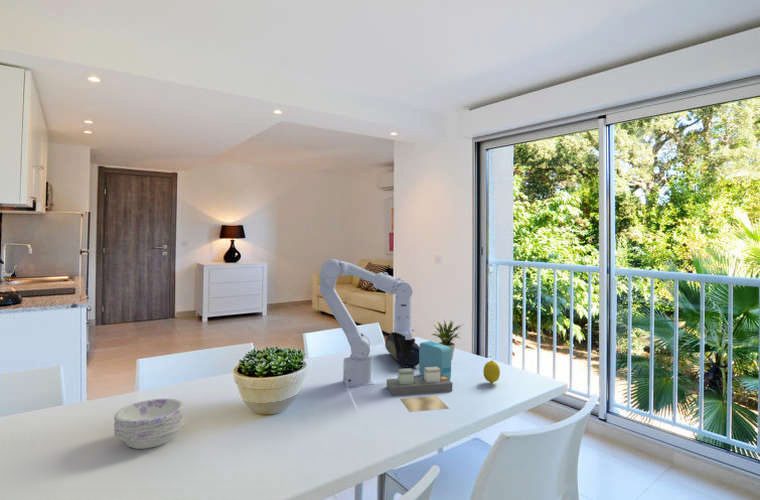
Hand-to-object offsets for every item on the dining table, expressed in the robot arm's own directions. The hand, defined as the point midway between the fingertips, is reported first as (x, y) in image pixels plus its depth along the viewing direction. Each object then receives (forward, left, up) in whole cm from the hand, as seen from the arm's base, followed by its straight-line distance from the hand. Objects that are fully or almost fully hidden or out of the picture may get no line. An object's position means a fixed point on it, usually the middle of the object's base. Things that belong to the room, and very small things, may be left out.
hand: (402, 355), depth 149 cm
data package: (+13, +3, -10) cm, 16 cm away
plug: (-1, -8, -10) cm, 12 cm away
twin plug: (+8, -8, -10) cm, 15 cm away
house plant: (+26, +23, -10) cm, 36 cm away
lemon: (+30, -7, -10) cm, 32 cm away
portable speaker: (+8, +25, -10) cm, 28 cm away
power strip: (+4, -8, -9) cm, 13 cm away
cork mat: (+1, -20, -9) cm, 22 cm away
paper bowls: (-72, -27, -10) cm, 78 cm away
